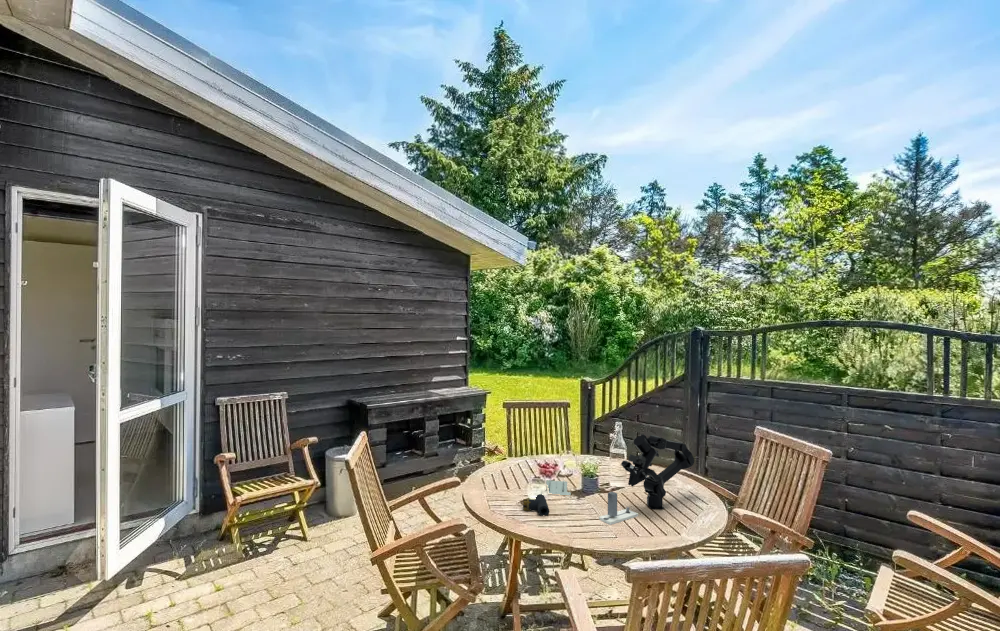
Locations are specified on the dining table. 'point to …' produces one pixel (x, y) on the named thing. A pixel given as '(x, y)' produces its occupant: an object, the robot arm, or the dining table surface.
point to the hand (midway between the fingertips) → (630, 485)
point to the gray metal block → (612, 504)
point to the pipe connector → (536, 505)
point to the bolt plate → (618, 516)
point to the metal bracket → (558, 487)
